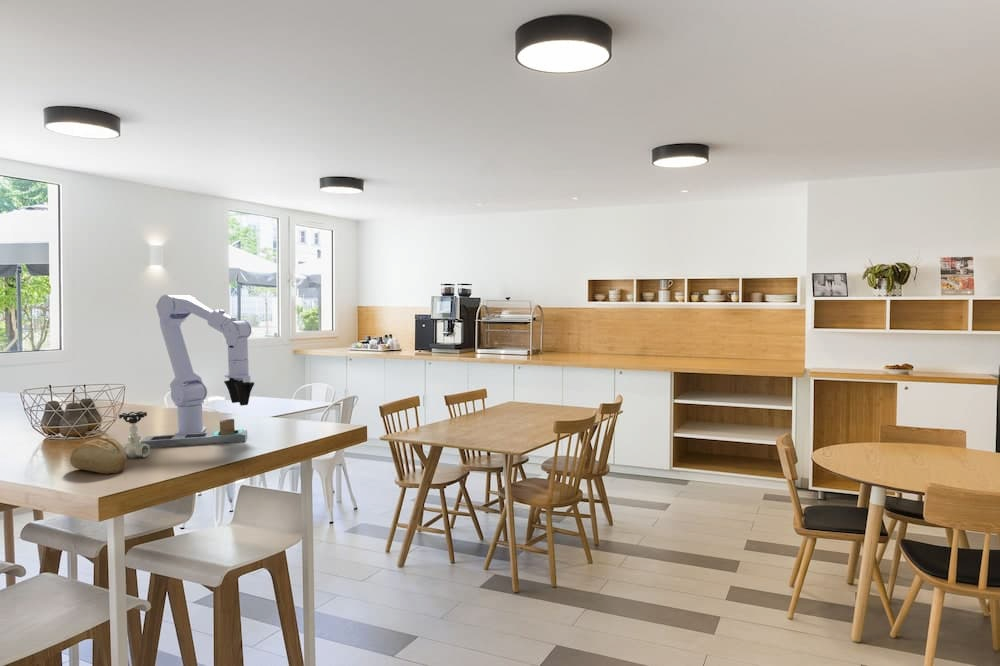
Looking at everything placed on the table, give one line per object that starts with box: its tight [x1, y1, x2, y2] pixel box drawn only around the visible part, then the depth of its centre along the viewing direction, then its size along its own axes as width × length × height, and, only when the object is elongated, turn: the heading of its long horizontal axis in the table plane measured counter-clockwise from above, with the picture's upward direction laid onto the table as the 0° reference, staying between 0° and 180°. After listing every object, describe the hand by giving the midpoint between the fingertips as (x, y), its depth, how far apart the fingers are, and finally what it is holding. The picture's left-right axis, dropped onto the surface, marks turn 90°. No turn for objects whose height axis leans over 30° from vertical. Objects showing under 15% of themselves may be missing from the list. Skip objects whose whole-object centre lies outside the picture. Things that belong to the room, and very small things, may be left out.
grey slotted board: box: [140, 428, 248, 449], centre depth 203 cm, size 8×28×2 cm, turn 106°
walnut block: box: [219, 418, 236, 435], centre depth 206 cm, size 4×4×6 cm
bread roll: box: [69, 437, 128, 475], centre depth 170 cm, size 10×15×8 cm, turn 70°
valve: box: [118, 410, 151, 459], centre depth 184 cm, size 7×7×12 cm
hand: (239, 403), depth 212 cm, fingers open, 7 cm apart
